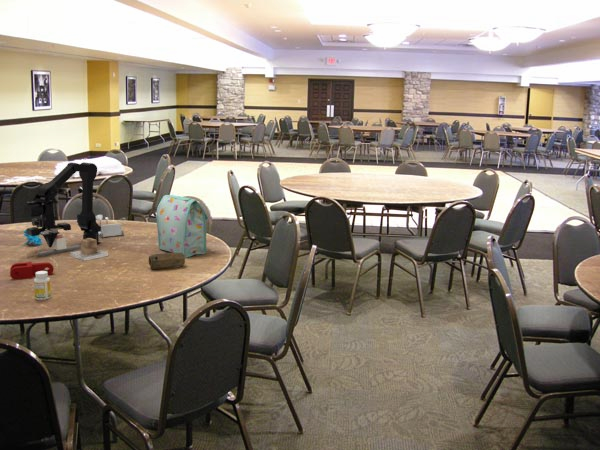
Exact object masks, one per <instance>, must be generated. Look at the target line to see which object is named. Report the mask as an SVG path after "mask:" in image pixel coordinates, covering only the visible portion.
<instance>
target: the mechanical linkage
mask: <svg viewBox="0 0 600 450" xmlns="http://www.w3.org/2000/svg"><path fill="white" fill-rule="evenodd" d="M47 268H48V269H47ZM38 271H47V272H48V276H50V275H52V274H53V272H54V271H55V270H54V265H53V263H51V262H48V261H45V262H32V261H28V262H27V261H25V262H16V263H14V264H12V265H11V266H10V272H9V275H10V278H11V279H13V280H15V281H16V280H17V281H18V280H26V279H27V278H28V279H33V278H34V277H36V274H35V273H36V272H38Z"/></svg>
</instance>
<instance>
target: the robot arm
mask: <svg viewBox="0 0 600 450" xmlns="http://www.w3.org/2000/svg"><path fill="white" fill-rule="evenodd" d="M77 172H78V175H79V177H80V179H81V182H82V183H81V186H82V187H81V212H80V213H77V215H76V218H77V220H76V223H77V225H78V227H79V228H80V231H81V232H82V233H83V234H82V239H86V238H92V239H95V240H97V245H98V244H101V242H100V240H99V239H100V235H99V234H98V232H100V231H101V227H102V226H101V227H100V224H99V223H97V219H96V214H95V212H94V210H93V209H94V206H93V205H94V203H93V202H94V200H93V199H94V181H95V179H96V177H97V174H98V166H97V165H96V164H95V163H91V162H82V163H77V162H68V163H67V164H66V166H65V167H64V168H63V169H62V170H60V171H59V173H57V175H55V176H54V177H53V178H52V179H51V180H50V181H48V182H46V183H43V184H42V185H41V186H39V187H38V188H37V189H36V193H35V195H34V197H33V199H32V201H26V202H25V205H23V209H22V211H23V214H24V216H25V217H26V218H29V219H30V218H32V219H31V226H33V227H27V228H26V229H27V230H26V229H25V230H26V234H27V235H30V236H37V235H40V236H42V237H43V238H44V240H45V242H46V244H47V246H48V248H53V242H54V240H55V238H56V236H57V235H60V232H59V230H64V231H66V232H67V231H71V230H72V226H71V224H70V223H67V222H65V221H64V222H59V223H57V224H56V219H57V216H56V215H55V214H56V213H55V204H58V203H59V201H57V199H55V198H56V197H57V195H58V194H59V191H60V188H61V187H62V186H64V184H65V183H66V182H67V181H68V180H70V179H71V178H72V177H73V176H74V175H75V174H76V173H77ZM34 217H35V218H34ZM37 217H39V219H38V218H37Z"/></svg>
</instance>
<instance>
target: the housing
mask: <svg viewBox="0 0 600 450" xmlns="http://www.w3.org/2000/svg"><path fill="white" fill-rule="evenodd" d="M80 246H81V249H80V251H81V253H84V254H87V255H88V254H93V253H97V249H98V244H97V240H95V239H92V238H86V239H83V238H82V239H80Z"/></svg>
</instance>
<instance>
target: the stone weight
mask: <svg viewBox="0 0 600 450" xmlns="http://www.w3.org/2000/svg"><path fill="white" fill-rule="evenodd" d="M185 263H186V258H185V257H184V255H183V254H182V253H172V252H166V253H165V252H164V253H163V252H162V253H155V254H151V255H149V256H148V266H149V267H150V269H151V270H164V269H165V270H166V269H173V268H178V267H183V266H184V265H185Z"/></svg>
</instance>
